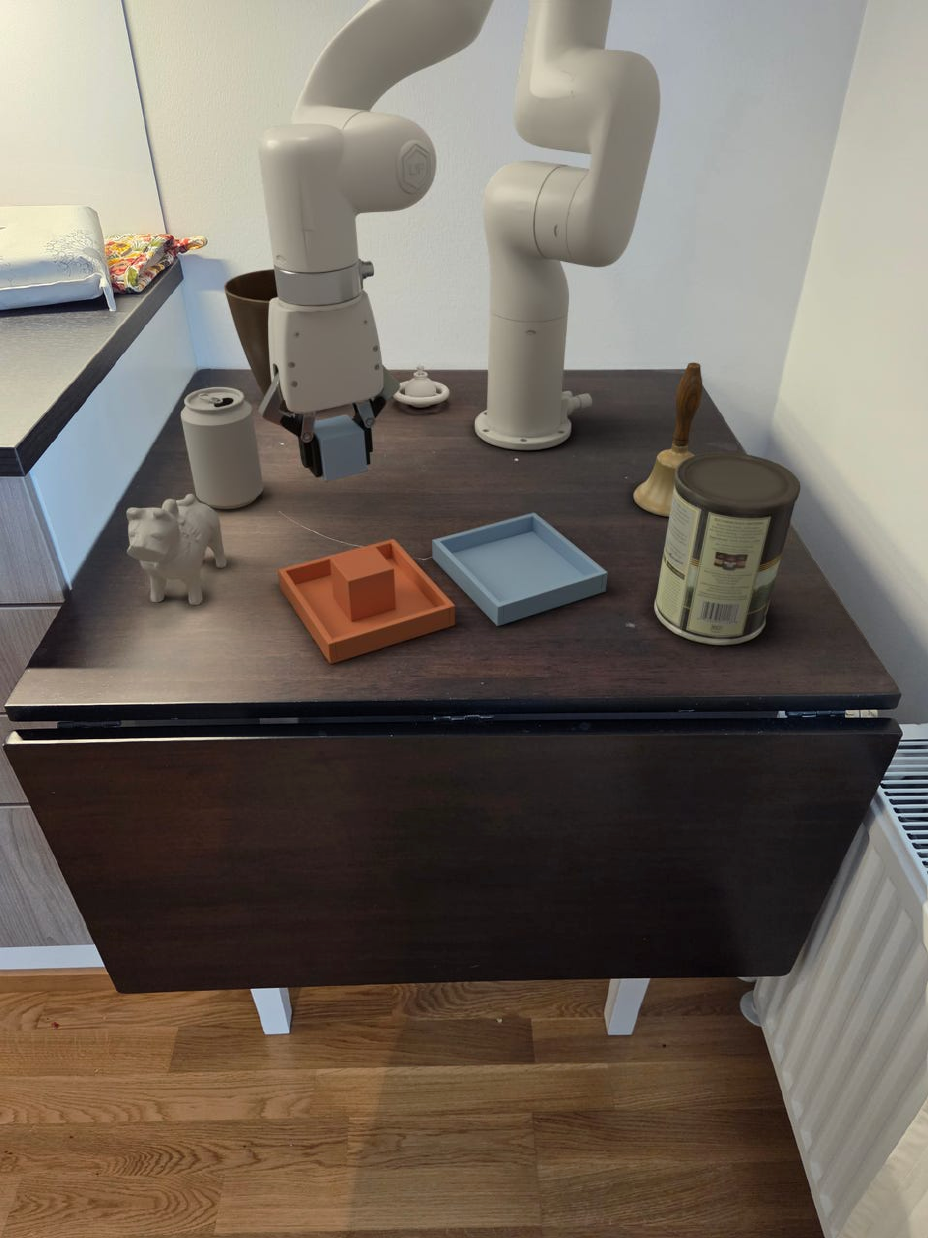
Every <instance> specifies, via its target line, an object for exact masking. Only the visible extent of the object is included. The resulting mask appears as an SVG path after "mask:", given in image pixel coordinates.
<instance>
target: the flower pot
mask: <svg viewBox="0 0 928 1238" xmlns="http://www.w3.org/2000/svg"><path fill="white" fill-rule="evenodd" d="M223 289H224V293H225V297H226V299H227V300H226V301H227V303H228V308H229V311H230V314H231V318H232V322H233V324H234V327H235V330H236V333H237V336H238V339H239V343H240V345H241V348H242V350H243V352H244V355H245V358H246V360H247V363H248V365H249V367H250V369H251V371H252V375H253V376H254V378H255V380H256V383H257V384H258V387H259V388H260V391H261V392H262V393H261V394H262V395H263V396H264V397H265V395H266V393H267V391H268V389H269V387H270V385H271V383H272V381H271V371H270V358H269V339H268V316H269V302H270V300H271V299H273V298H277V297H278V293H277V286H276V279H275V272H274V268H270V269H261V270H255V271H250V272H246V273H242V274H239V275H237V276H234V277H231V278H230V279H229V280H227V281H226V282H225V283H224V286H223ZM264 397H263V398H264ZM279 409H280V410H281V411H284V412H290V411H289V410H288V408H287V406H286V402H285V400H283V401H282V403H281V405H280V407H279Z"/></svg>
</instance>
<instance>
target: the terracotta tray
mask: <svg viewBox="0 0 928 1238" xmlns="http://www.w3.org/2000/svg"><path fill="white" fill-rule="evenodd" d="M371 546H375V547H376V548H377V550H378V551H379V552H380V553H381V554H382V555H383V557H384V558H385V559H386V560H387V561H388V562H389V563H390V565H391V566H392V567H393V568H394V579H395V600H396V609H393V610H390V611H386V612H383V613H379V614H376V615H373V616H369V617H366V618H363V619H359V620H356V621H353V622H352V621H351V620H350V619H349V617H348V616H347V615H346V613H345V612H344V611H343V609H342V608H341V607H340V605H339V604H338V603H337V601H336V600H335V598H334V597H333V587H332V576H331V566H330V557H334V556H337V555H341V554H345V553H349V552H353V551H356V550H360V549H364V548H368V547H371ZM277 573H278V574H277V575H278V581H279V587H280V590H281V591H282V593H283V595H284V596H285V597H286V599H287V600H288V602H289V604H290V605H291V607H292V608H293V609H294V611H295V613H296V614H297V617H299V619H300V620H301V622H302V623H303V625H304V626H305V628H306V629H307V632H308V633H309V634H310V636H311V637H312V638H313V640H314V642H315V643H316V645H317V646H318V648H319V649H320V651H321V652H322V654H323V655H324V657H325V658H326V660H327V661H328V663H329V664H330V665H333V664H336V663H339V662H343V661H346V660H349V659H352V658H356V657H358V656H361V655H364V654H368V653H371V652H374V651H378V650H380V649H384V648H387V647H389V646H393V645H396V644H400V643H402V642H406V641H408V640H413V639H415V638H418V637H421V636H425V635H428V634H431V633H435V632H438V631H441V630H444V629H447V628H451V627H453V626H455V625H456V605H455V604H454V603H453V602H452V600H450V599H449V597H448V596H447V594H445V592H444V591H442V590H441V588H439V587H438V585H437V584H436V583H435V582H434V581H433V580H432V579H431V578H430V577H429V576H428V574H426V572H425V571H424V570H423V569H422V568H421V567H420V566H419V564H418V563H417V562H415V560H414V559H413V558H412V557H411V556H410V555H409V554H408V553H407V551H406V550H405V549H404V548H403V547H402V546H401V545H400V544H399V543H398V542H397V540H395V539H394V538H392V539H389V540H383V541H381V542H376V543H374V544H373V543H372V544H369V545H366V546H361V547H358V548H355V549H350V550H347V551H343V552H339V553H335V554H331V555H328V556H324V557H320V558H316V559H313V560H308V561H305V562H300V563H297V564H293V565H289V566H286V567H282V568H279V569H277Z"/></svg>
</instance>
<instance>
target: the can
mask: <svg viewBox="0 0 928 1238" xmlns="http://www.w3.org/2000/svg"><path fill="white" fill-rule="evenodd" d="M184 405H185V406H184V408H183V409H182V410H181V412H180V420H181V424H182V429H183V434H184V440H185V445H186V450H187V455H188V460H189V465H190V471H191V475H192V481H193V487H194V490H195V497H196V498H197V499H198V501H201V502H202V503H204V504H206V505H208V506H209V507H211V508H212V509H218V510H234V509H238V508H242V507H245V506H248V505H250V504H252V503H253V502H254V501H255V500H256V499H257V498H258V497H259V496H260V495H261V494H262V492H263V490H264V482H263V475H262V469H261V468H262V467H261V462H260V454H259V446H258V442H257V433H256V428H255V419H254V413H253V408H252V407H253V406H252V405H251V404H250V403H249V402H248V401H247V400H245V394H244V393H243V392H242V391H241V390H239V389H236V388H234V387H227V386H214V387H207V388H201V389H198V390H195V391H193V392H190V393H189V394H187V395H186V397H185V398H184Z"/></svg>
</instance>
